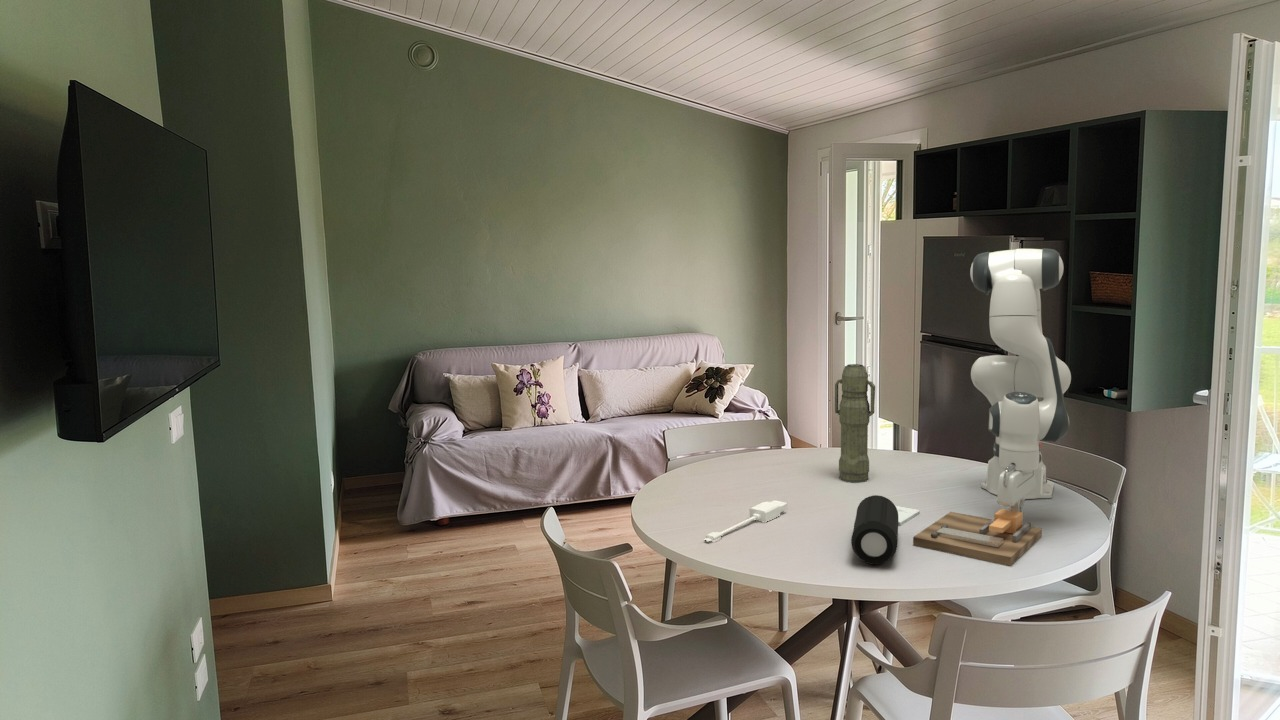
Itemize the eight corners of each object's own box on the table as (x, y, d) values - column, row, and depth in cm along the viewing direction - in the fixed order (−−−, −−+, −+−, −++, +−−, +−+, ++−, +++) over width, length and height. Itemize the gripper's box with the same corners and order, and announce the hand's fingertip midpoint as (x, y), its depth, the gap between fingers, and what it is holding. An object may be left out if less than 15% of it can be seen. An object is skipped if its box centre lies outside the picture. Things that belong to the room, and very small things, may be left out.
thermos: (872, 484, 249) (873, 367, 244) (832, 481, 253) (833, 366, 249) (875, 476, 257) (877, 363, 253) (836, 473, 261) (837, 362, 257)
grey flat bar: (942, 531, 201) (942, 527, 201) (1003, 542, 192) (1003, 538, 192) (936, 535, 198) (936, 531, 198) (997, 547, 189) (997, 543, 188)
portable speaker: (856, 529, 210) (857, 491, 208) (898, 533, 207) (898, 493, 205) (850, 566, 186) (850, 523, 184) (896, 570, 183) (897, 526, 181)
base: (950, 519, 216) (950, 505, 215) (1041, 536, 201) (1042, 521, 201) (913, 545, 197) (913, 530, 197) (1010, 566, 183) (1011, 550, 183)
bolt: (1000, 524, 204) (1001, 508, 203) (1022, 528, 201) (1022, 512, 200) (984, 538, 195) (984, 521, 194) (1006, 542, 192) (1007, 525, 191)
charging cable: (698, 545, 204) (697, 532, 203) (773, 508, 227) (773, 496, 227) (714, 550, 200) (714, 536, 200) (789, 512, 224) (788, 500, 223)
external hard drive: (869, 522, 217) (890, 510, 226) (900, 528, 211) (919, 515, 221) (869, 516, 216) (890, 504, 226) (900, 522, 211) (919, 509, 221)
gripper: (1019, 470, 193) (1017, 528, 195) (1044, 453, 209) (1041, 507, 210) (991, 466, 197) (989, 523, 199) (1017, 450, 213) (1015, 502, 214)
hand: (1016, 514), depth 205 cm, fingers closed
